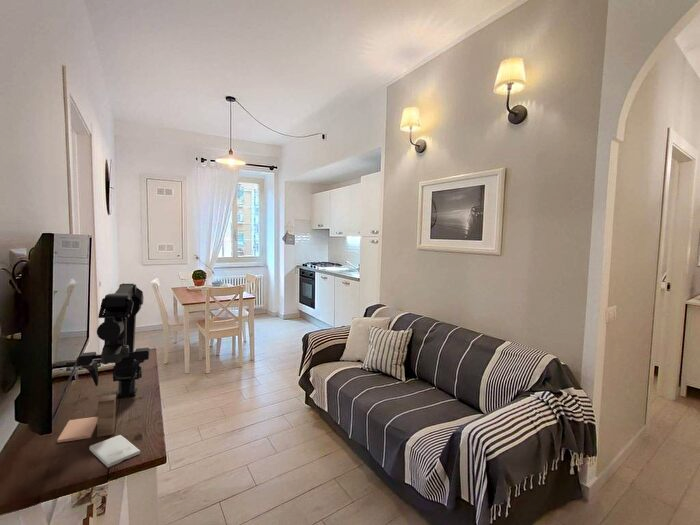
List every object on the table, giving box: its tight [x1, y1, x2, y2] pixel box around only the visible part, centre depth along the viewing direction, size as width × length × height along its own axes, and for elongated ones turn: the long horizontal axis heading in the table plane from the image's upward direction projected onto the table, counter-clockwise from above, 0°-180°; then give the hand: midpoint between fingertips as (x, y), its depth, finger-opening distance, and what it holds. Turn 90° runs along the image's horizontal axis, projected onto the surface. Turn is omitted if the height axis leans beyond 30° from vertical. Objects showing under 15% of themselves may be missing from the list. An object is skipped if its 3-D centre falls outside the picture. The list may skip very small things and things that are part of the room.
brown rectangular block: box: [96, 394, 117, 438], centre depth 106 cm, size 4×4×11 cm
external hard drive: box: [89, 434, 141, 468], centre depth 98 cm, size 2×8×12 cm
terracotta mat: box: [56, 416, 98, 444], centre depth 107 cm, size 12×8×1 cm, turn 26°
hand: (114, 383), depth 108 cm, fingers open, 9 cm apart
